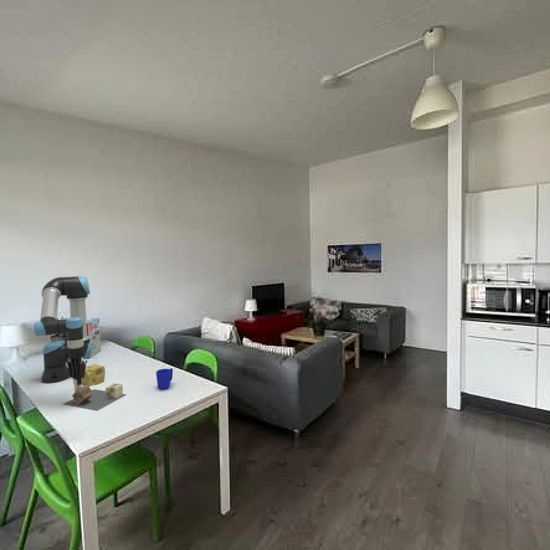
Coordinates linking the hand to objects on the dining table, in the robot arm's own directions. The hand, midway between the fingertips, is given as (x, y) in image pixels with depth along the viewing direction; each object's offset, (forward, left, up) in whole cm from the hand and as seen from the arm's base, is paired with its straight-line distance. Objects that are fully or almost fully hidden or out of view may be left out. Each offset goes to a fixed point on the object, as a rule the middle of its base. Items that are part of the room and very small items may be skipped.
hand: (77, 390), depth 174 cm
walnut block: (+1, 0, -4) cm, 4 cm away
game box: (-64, +66, -7) cm, 92 cm away
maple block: (+13, +11, -6) cm, 18 cm away
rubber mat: (+6, +5, -7) cm, 10 cm away
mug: (+31, +32, -7) cm, 45 cm away
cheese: (-16, +23, -7) cm, 29 cm away
